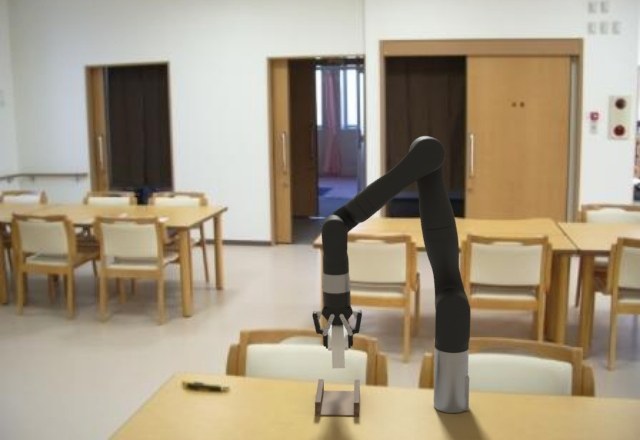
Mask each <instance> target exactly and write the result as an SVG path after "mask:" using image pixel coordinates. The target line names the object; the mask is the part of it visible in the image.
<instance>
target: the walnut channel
mask: <svg viewBox="0 0 640 440" xmlns="http://www.w3.org/2000/svg"><path fill="white" fill-rule="evenodd" d="M360 380H361V379H354V382H353V383H354V384H353V390H325V387H324V386H325V385H324V383H325V382H324V381H325V380H324V378H321V379H320V378H319V379H318V381H317V385H316V393H315V399H314V416H316V417H319V416H320V417H360V404H361V403H360V398H361V396H360V393H361V389H360V386H361V383H360V382H361V381H360Z"/></svg>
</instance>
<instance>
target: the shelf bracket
mask: <svg viewBox="0 0 640 440" xmlns="http://www.w3.org/2000/svg"><path fill="white" fill-rule="evenodd" d="M327 351H328V352H329V351H330V352H331V364H332V365H331V366H332V367H331V368H332V369H345V368H346V366H345V365H346V364H345V363H346V359H345V351H349V348H348V332H347V330H346V329H345V327H344V325H338V324H337V325H331V326H330V329H329V331H328V349H327Z"/></svg>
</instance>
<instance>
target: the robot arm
mask: <svg viewBox="0 0 640 440" xmlns="http://www.w3.org/2000/svg"><path fill="white" fill-rule="evenodd" d="M445 159H446V149H445V146H444V145H443V143H442V142H441V141H440V140H439V139H437V138H435V137H433V136H428V135H423V136H419V137H418V138H416V139H414V140H413V142H411V144H410V146H409V149H408V153H406V155H405V156H404V157H403V158H402V159H401V160H400V161H399V162H398V163H397V164H396V165H395V166H394V167H392V169H390V170H389V171H388V172H386V173H384V174H383V175H382V176H380V177H379V178H377V179H375V180H374V181H372V182H371V183H370V184H368V185H367V186H365V187H364V188H363V189H361V190H360V191H359V192H358V193H357V194H355V195H354V196H353V197H352V198H350V200H348V201H347V202H346V203H345V204H343V205H342V206H341V207H339V208H338V209H336V210H335V211H334V212H333V211H332V213H330V214H329V215H328V216H327V217H326V218H325V219H324V220H323V223H322V226H321V229H320V231H321V244H322V252H323V254H322V271H323V272H322V301H323V302H322V303H323V305H322V310H317V311H316V310H314V311H312V314H311V315H312V316H311V317H312V319H313V323H314V324H313V325H314V329H315V333H316V334H317V335H319V334H320V335H321V336H322V345H323V347H325V349H327V350H328V331H329V329H330V326H331V325H337V324H338V325H344V327H345V329H346V330H347V333H348V349H351V347H353V345H354V335H355V334H359V332H360V329H361V324H362V318H363V311H362V309H358V310H354V309H353V308H352V306H351V305H352V303H351V277H350V264H349V263H350V262H349V261H350V260H349V255H348V246H349V245H348V240H349V236H348V234H349V233H350V232H351V231H352V230H353V229H354V228H355V227H357V226H358V225H359V224H361V223H364V222H366V221H367V220H369V219H370V218H372V217H373V216H374V215H375V214H377V212H379V211H380V210H381V209H382V208H383V207H385V206H386V205H387V204H388V203H389V202H390V201H392V200H393V199H394V198H395V197H397V196H398V195H399V194H400V193H401V192H403V191H404V190H405V189H406V188H408V187H410V186H411V185H412V184H414V183H416V187H417V193H418V210H419V218H420V226H421V232H422V233H421V234H422V239H423V243H424V244H423V245H424V248H425V252H426V255H427V258H428V261H429V265H430V266H431V270H432V275H433V276H432V277H433V284H434V286H433V287H434V288H433V289H434V307H435V308H434V310H435V313H434V314H435V315H434V316H435V317H434V318H435V319H434V320H435V322H434V325H435V328H434V329H435V331H434V353H433V354H434V357H433V358H434V363H433V368H434V369H433V372H434V373H433V407H434V408H435V410H438V411H439V412H442V413H448V414H459V413H462V412H468V411H469V410H470V409H469V408H470V376H469V357H470V356H469V354H470V353H469V350H470V348H469V347H470V340H471V315H472V314H471V305H470V302H469V299H468V295H467V293H466V290H465V287H464V286H465V285H464V283H463V279H462V276H461V270H460V245H459V234H458V229H457V228H458V227H457V222H456V217H455V214H454V209H453V206H452V204H451V200H450V197H449V195H448V192H447V189H446V184H445V178H444V166H443V165H444V162H445ZM322 316H323V318H324V319H325V320H326V322H325V324H324V328H322V326H321V323H320V319H321V317H322ZM352 316H353V317H354V319H355V320H356V321H355V326H354V327H352V324H351V323H350V321H349V319H350V318H351V317H352Z"/></svg>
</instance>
